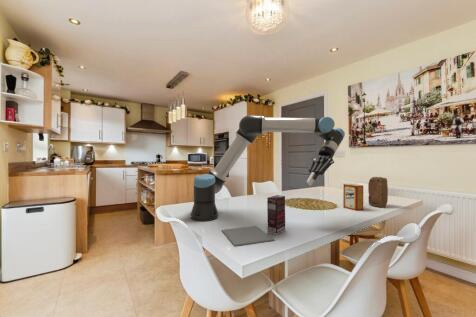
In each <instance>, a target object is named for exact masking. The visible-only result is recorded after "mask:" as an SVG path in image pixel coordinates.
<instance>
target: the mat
mask: <svg viewBox="0 0 476 317" xmlns="http://www.w3.org/2000/svg"><path fill="white" fill-rule="evenodd" d="M221 232H222V234H224V235H225V237H226V238H227V239H228V240H229V241H230V243H231V244H232V245H233V246H234V247H240V246H241V247H242V246H247V245H248V246H249V245H253V244H260V243H268V242H274V241H276V240H275V237H274V238H273V237H272V236H271V235H270V234H269V233H268V232H265V231H264V230H262V228H260V227H258V226H257V225H251V226H245V227H244V226H243V227H236V228H233V227H232V228H224V229H221Z"/></svg>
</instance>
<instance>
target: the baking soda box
mask: <svg viewBox="0 0 476 317" xmlns="http://www.w3.org/2000/svg"><path fill="white" fill-rule="evenodd" d="M342 198H343V200H342V201H343V208H344V209H347V210H352V211H356V212H357V211H358V212H359V211H364V185H362V184H354V183H344V184H343V196H342Z"/></svg>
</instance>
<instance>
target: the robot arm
mask: <svg viewBox="0 0 476 317" xmlns="http://www.w3.org/2000/svg"><path fill="white" fill-rule="evenodd" d="M238 124H239V125H238V130H237V131H236V132H235V136H236V137H235V138H234V140H232V142H231V144H230V146H229V147H228V149H226V151H225V152H224V154H223V155H222V157H221V159H220V160H219V161H218V163H217V164H216V166H215V167H214V168H212V169H210V170H209V172H208V173H206V174H198V175H196V176H195V177H194V178H193V205H192V209H191V211H190V219H191V220H192V221H199V222H207V221H208V222H209V221H212V220H216V219H218V217H219V212H218V208H217V206H216V194H218V193H219V192H221V191H222V189H223V186H224V185H225V182H226V181H227V176H228V174H230V171H231V170H232V168H233V167H234V166H235V164H236V163H237V161H238V160H239V159H240V157H241V156H242V154H243V153H244V151H245V150H246V148H247V147H248V146H249V145H252V144H253V143H254V141H255V140H256V138H258V137H260V135H263V134H264V133H303V134H306V133H308V134H309V133H313V134H314V135H316V136H318V137H319V138H321V139H322V140H324V143H323V144H322V146H321V147H320V149H319V151H318V155H317V156H316V157H315V158H311V159H310V164H309V167H308V173H309V175H308V177H307V180H306V184H307V185H308V186H311V187H312V185H313V184H314V182H315V180H317V178H318V176H320V175H321V176H322V175H324V174H325V172H326V171H327V170H328V169H329V168H330V167H331V166H332V164H334V163H335V160H334V159H333V158H334V156H335V154H336V152H337V150H338V149H339V147H340V145H341V144H342V142H343V140H344V138H345V136H346V134H345V131H344V129H343V128H341V127H335V121H334V119H333V118H332V117H330V116H324V117H266V116H264V115H253V114H248V115H245V116H243V117H242V118H241V119H240V121H239V123H238Z"/></svg>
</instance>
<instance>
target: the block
mask: <svg viewBox="0 0 476 317" xmlns="http://www.w3.org/2000/svg"><path fill="white" fill-rule="evenodd" d="M367 186H368V187H367V189H368V204H369V205H370V206H373V207H376V208H386V206H387V204H388V196H389V195H388V192H389V191H388V190H389V187H388V179H387V177H382V176H372V177H370V179H369V180H368V185H367Z"/></svg>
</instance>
